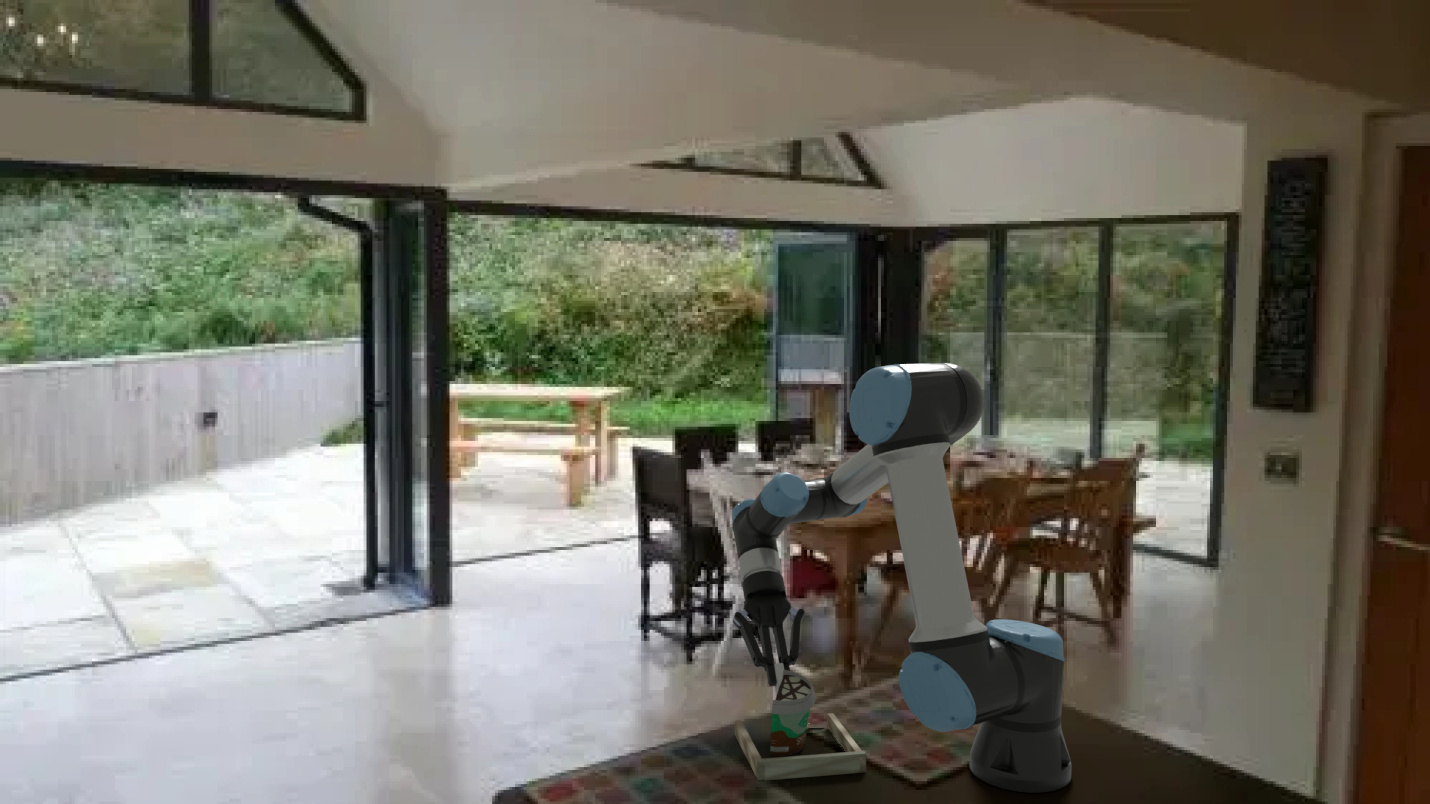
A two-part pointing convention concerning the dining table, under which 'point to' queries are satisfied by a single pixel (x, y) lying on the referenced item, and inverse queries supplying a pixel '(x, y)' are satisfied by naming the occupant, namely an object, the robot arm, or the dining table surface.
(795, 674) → the food container
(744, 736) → the beige u-shaped frame
